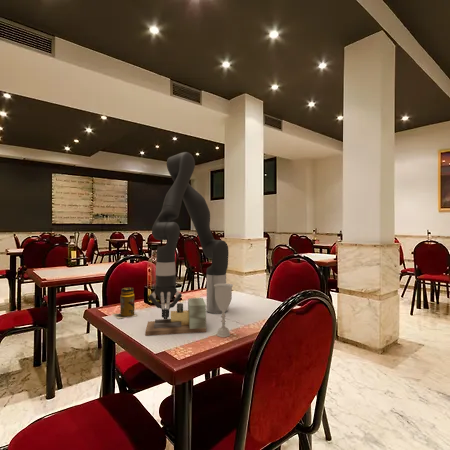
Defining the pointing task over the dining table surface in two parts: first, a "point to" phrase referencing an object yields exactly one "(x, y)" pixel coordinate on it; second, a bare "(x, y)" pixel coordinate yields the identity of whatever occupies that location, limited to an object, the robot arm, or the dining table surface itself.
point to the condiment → (126, 303)
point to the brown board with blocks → (166, 327)
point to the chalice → (223, 304)
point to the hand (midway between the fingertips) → (165, 318)
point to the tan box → (180, 315)
